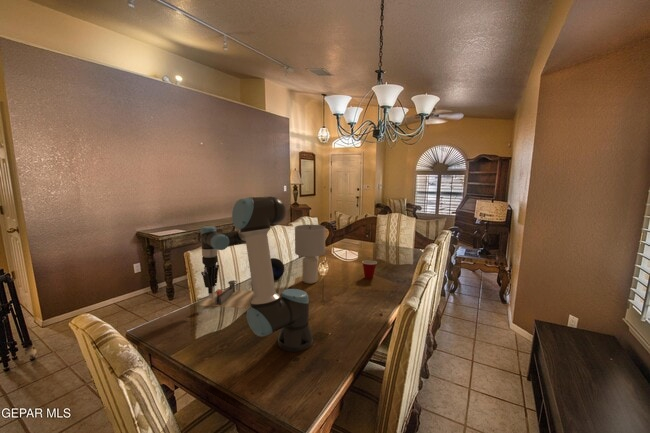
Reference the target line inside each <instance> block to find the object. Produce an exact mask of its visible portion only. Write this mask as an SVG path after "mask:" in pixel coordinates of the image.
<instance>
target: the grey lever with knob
mask: <svg viewBox="0 0 650 433" xmlns="http://www.w3.org/2000/svg"><path fill="white" fill-rule="evenodd" d="M227 283H228V285H229V287H230V289H228V290H227V291H226V292H225V293H224V294H223V295H222V296H220V297H219V305H222V304H223V303H224V302H225V301H226V300H227V299H228V298H229V297H230V296H231V295H232V294H233V284H235V285H236V284H237V280H234V279H233V280H229V281H228V282H227Z"/></svg>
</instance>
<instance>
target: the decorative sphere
mask: <svg viewBox="0 0 650 433" xmlns="http://www.w3.org/2000/svg"><path fill="white" fill-rule="evenodd" d="M271 264H272V271H273V277H274V281H275V280H278V279H281V277H282V276H283V275H284V273H285V265H284V263H283V261H282V260H281V259H279V258H275V257H274V258H273V257H272V258H271Z"/></svg>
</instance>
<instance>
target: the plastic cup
mask: <svg viewBox="0 0 650 433" xmlns="http://www.w3.org/2000/svg"><path fill="white" fill-rule="evenodd" d="M361 263H362V268H363V274H364V278H365V279H366V280H372V279H373V278H374V275H375V271H376V266H377V264H378V262H377V261H376V260H375V261H374V260H362V261H361Z"/></svg>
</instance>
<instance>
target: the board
mask: <svg viewBox="0 0 650 433" xmlns="http://www.w3.org/2000/svg"><path fill="white" fill-rule="evenodd" d="M218 290H219V289H216V290H215V297H216V296H217V291H218ZM224 290H225V289H222V292H223V291H224ZM253 298H254V294H253V290H239V289H238V290H237V289H235V292H234V293H233V294H232V295H231V296H230V297H229V298H228V299H227V300H226V301H225V302H224V303H223V304H222V305H219V303H218V304H217V305H215V298H214V299H210V298H209V296H208V297H207V298H206V299H205V300H203V302H201V303H200V304H199V306H201V307H202V306H205V307H206V306H207V307H219V308H220V307H223V308H239V309H240V308H241V309H245V308H246V307H247V306H248V305H249V303H251V300H252V299H253Z"/></svg>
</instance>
